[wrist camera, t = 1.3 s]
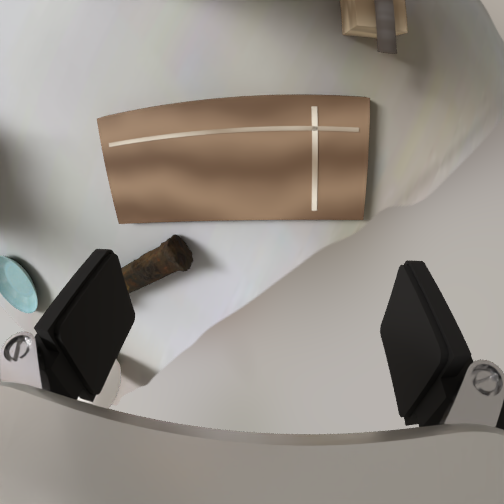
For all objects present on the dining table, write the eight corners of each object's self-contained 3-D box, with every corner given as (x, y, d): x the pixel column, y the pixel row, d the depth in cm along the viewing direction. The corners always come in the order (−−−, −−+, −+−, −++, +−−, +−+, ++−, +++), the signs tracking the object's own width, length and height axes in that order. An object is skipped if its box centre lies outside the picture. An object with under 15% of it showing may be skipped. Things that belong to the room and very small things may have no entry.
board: (104, 116, 28) (96, 119, 26) (365, 97, 25) (370, 98, 23) (124, 217, 34) (118, 224, 33) (360, 213, 31) (363, 220, 30)
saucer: (-8, 269, 42) (-15, 276, 41) (7, 236, 38) (-2, 243, 36) (32, 313, 47) (26, 321, 45) (53, 288, 42) (46, 297, 40)
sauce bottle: (131, 352, 47) (91, 443, 32) (128, 374, 51) (95, 456, 36) (90, 334, 46) (43, 419, 31) (91, 358, 51) (52, 436, 35)
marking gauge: (337, -21, 19) (353, -48, 13) (379, -16, 18) (406, -38, 12) (343, 54, 23) (362, 48, 17) (385, 58, 23) (415, 55, 16)
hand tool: (178, 227, 34) (165, 249, 30) (197, 255, 36) (186, 279, 32) (80, 278, 40) (64, 298, 36) (96, 298, 42) (82, 319, 38)
